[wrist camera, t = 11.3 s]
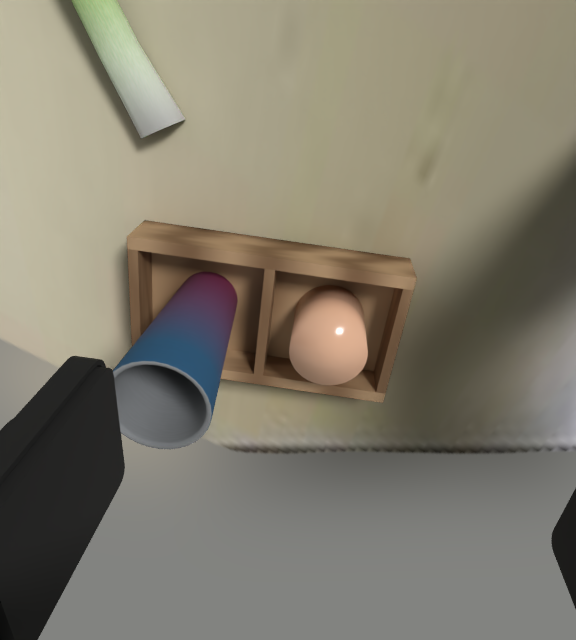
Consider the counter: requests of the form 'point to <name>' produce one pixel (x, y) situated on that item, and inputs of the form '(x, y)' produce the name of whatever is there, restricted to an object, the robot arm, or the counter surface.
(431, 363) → the counter surface
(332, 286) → the peach capsule shape
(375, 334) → the caddy
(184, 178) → the counter surface
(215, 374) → the cup
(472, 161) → the counter surface
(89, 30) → the leek
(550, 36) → the counter surface
